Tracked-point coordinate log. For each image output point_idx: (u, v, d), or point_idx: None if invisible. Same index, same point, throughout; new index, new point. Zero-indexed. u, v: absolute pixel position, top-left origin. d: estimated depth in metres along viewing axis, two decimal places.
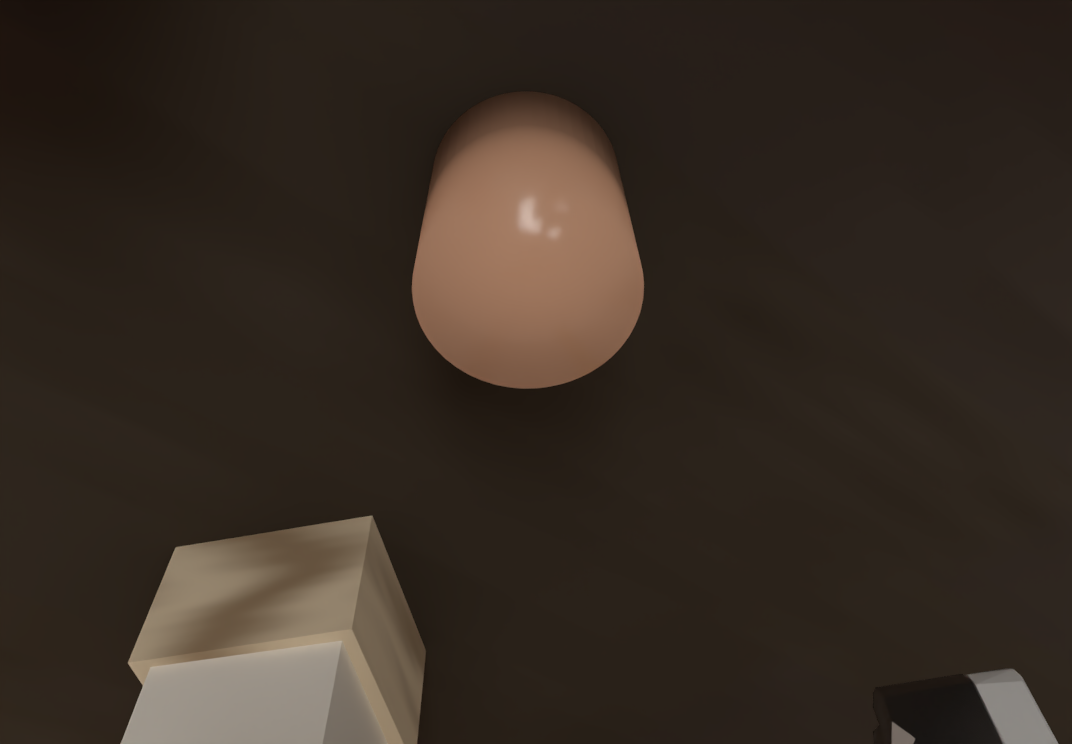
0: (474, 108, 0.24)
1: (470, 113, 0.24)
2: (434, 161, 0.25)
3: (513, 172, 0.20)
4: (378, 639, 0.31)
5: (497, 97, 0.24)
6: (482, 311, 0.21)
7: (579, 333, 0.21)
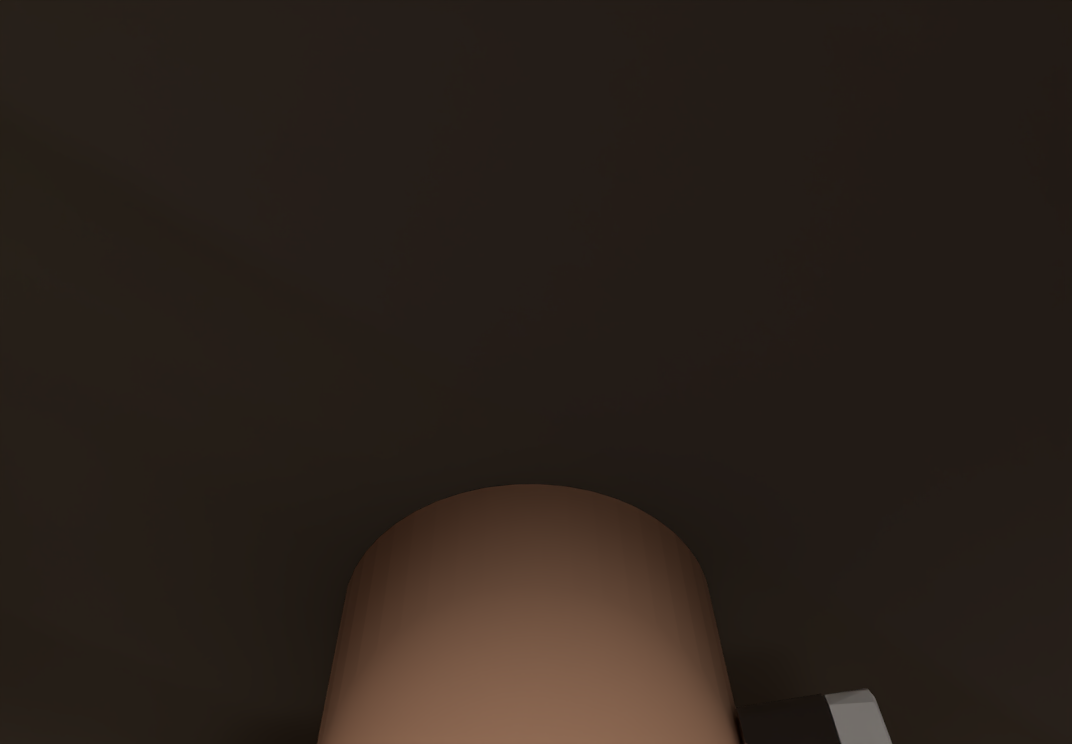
0: (422, 520, 0.12)
1: (413, 535, 0.12)
2: (343, 607, 0.12)
3: None
4: None
5: (470, 500, 0.12)
6: None
7: None
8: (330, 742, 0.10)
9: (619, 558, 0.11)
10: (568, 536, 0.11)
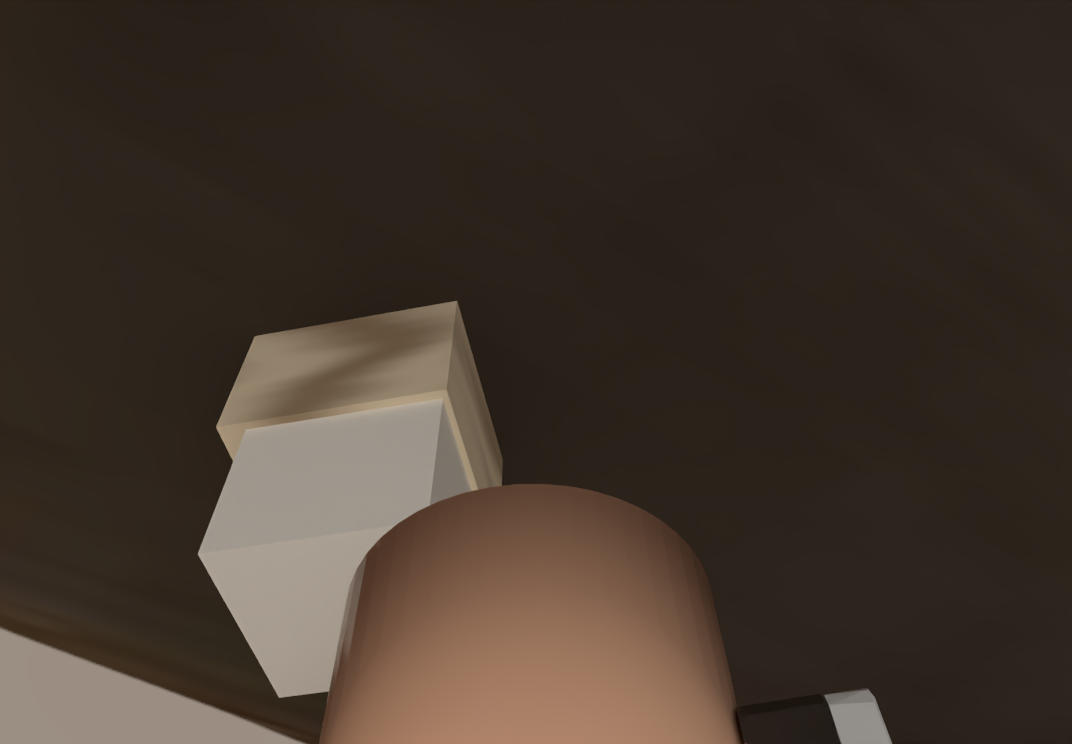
0: (424, 520, 0.12)
1: (415, 535, 0.12)
2: (345, 608, 0.12)
3: None
4: (467, 417, 0.30)
5: (472, 500, 0.12)
6: None
7: None
8: (332, 742, 0.10)
9: (621, 558, 0.11)
10: (570, 536, 0.11)
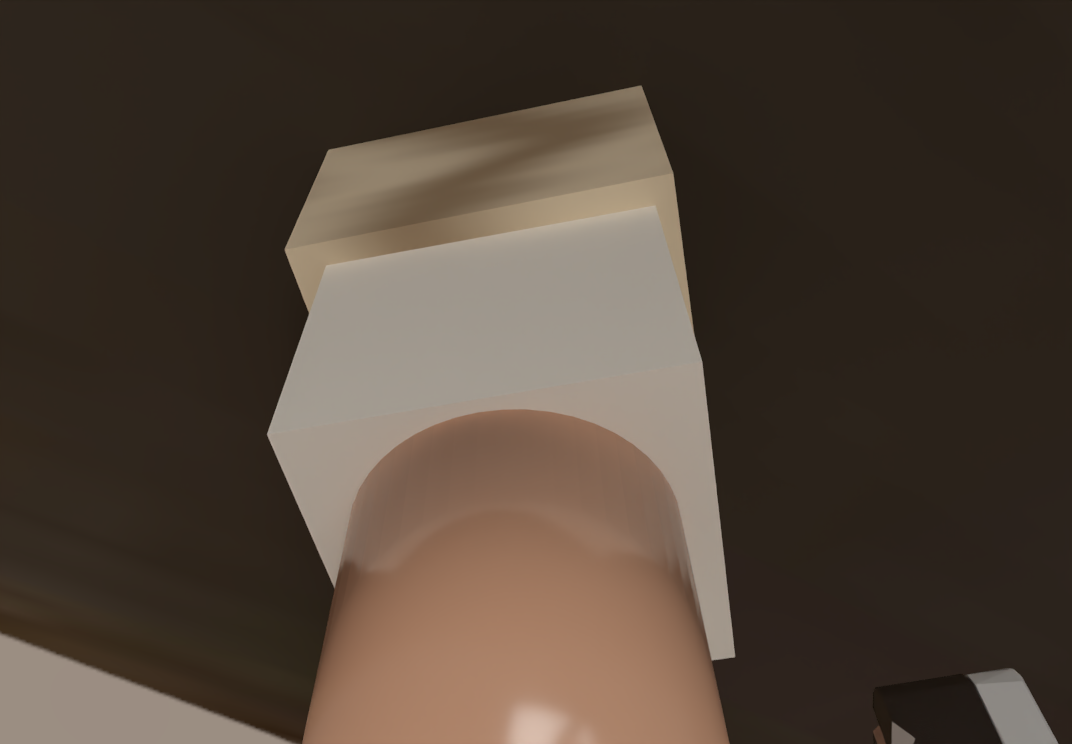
0: (420, 440, 0.13)
1: (412, 453, 0.13)
2: (348, 523, 0.14)
3: None
4: None
5: (463, 422, 0.13)
6: None
7: None
8: (338, 625, 0.11)
9: (596, 471, 0.12)
10: (551, 451, 0.12)
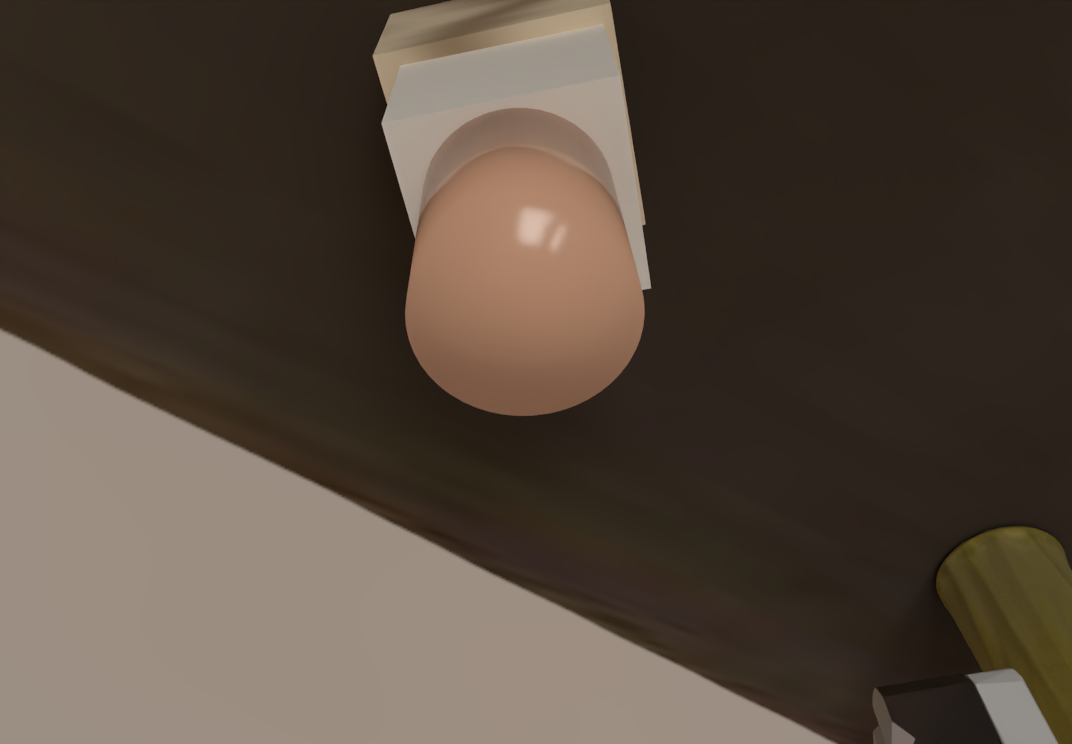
0: (467, 125, 0.24)
1: (463, 130, 0.23)
2: (425, 178, 0.24)
3: (511, 194, 0.19)
4: None
5: (491, 114, 0.23)
6: (478, 338, 0.20)
7: (577, 360, 0.21)
8: (430, 196, 0.22)
9: (564, 132, 0.23)
10: (539, 122, 0.23)
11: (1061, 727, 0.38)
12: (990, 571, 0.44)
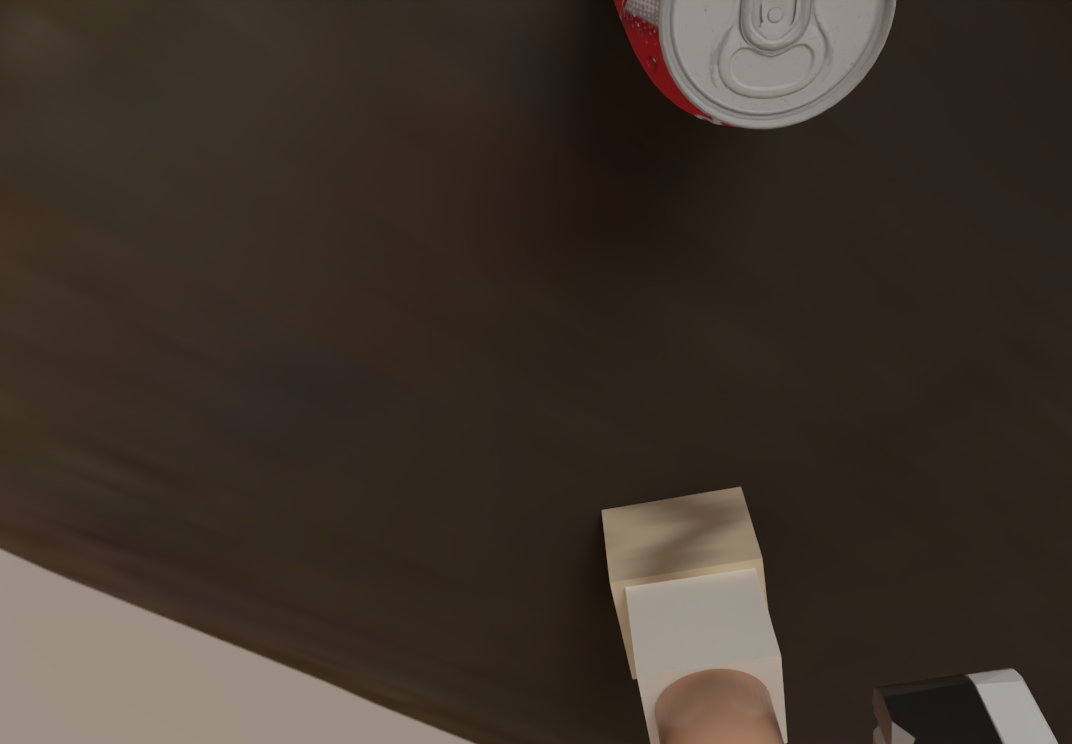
0: (692, 678, 0.40)
1: (691, 682, 0.40)
2: (662, 702, 0.40)
3: None
4: None
5: (707, 673, 0.40)
6: None
7: None
8: (680, 742, 0.38)
9: (752, 693, 0.39)
10: (738, 686, 0.39)
11: None
12: None
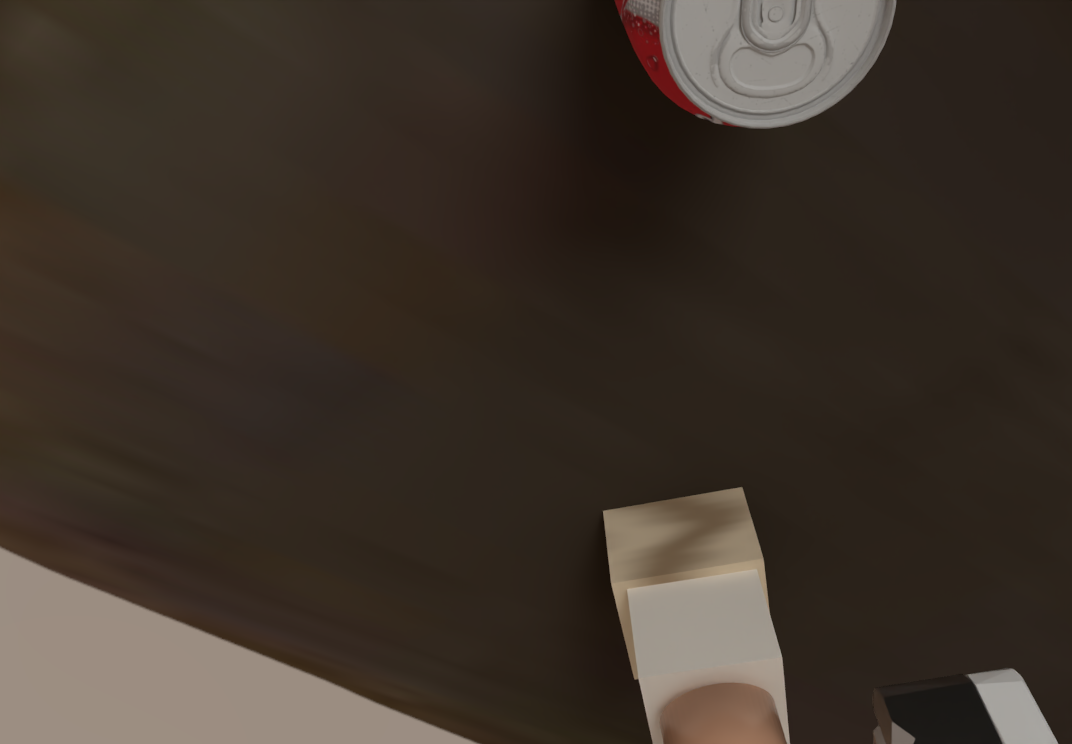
0: (705, 691, 0.39)
1: (704, 696, 0.39)
2: (672, 711, 0.40)
3: None
4: None
5: (721, 687, 0.39)
6: None
7: None
8: None
9: (764, 709, 0.39)
10: (752, 703, 0.39)
11: None
12: None
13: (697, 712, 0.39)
